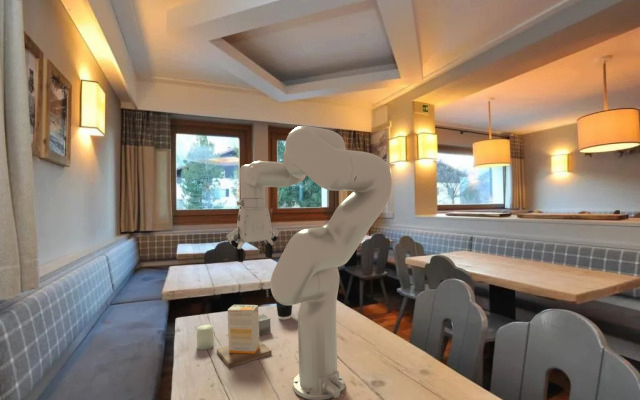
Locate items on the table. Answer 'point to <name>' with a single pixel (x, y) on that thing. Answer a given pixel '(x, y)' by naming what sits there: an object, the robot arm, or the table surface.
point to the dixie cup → (284, 311)
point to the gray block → (264, 324)
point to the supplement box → (243, 329)
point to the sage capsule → (205, 337)
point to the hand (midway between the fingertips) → (254, 259)
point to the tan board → (242, 355)
